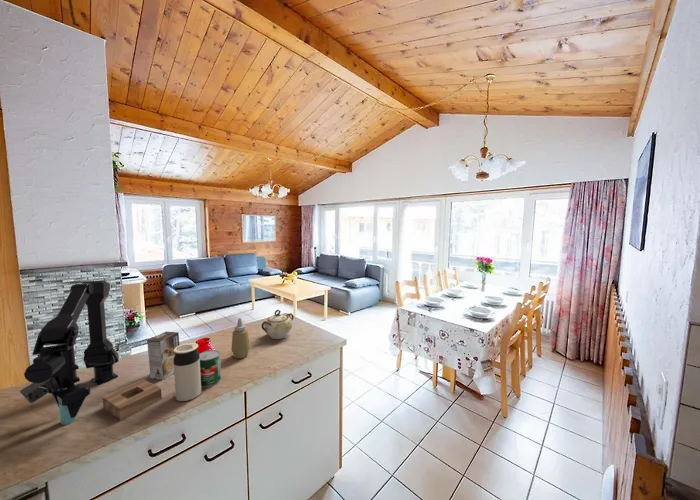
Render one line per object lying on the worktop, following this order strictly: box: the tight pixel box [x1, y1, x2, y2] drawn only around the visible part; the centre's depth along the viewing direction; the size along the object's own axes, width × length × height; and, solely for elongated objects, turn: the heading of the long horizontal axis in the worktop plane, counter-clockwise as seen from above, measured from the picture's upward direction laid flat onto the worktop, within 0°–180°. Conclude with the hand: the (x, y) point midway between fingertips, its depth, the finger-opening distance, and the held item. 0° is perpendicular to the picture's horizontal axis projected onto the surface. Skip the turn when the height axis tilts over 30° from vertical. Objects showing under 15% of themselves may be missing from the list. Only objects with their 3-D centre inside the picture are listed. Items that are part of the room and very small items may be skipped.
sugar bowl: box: [261, 309, 295, 340], centre depth 149 cm, size 20×15×15 cm
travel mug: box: [173, 342, 202, 402], centre depth 98 cm, size 8×8×18 cm
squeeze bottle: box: [230, 317, 251, 359], centre depth 127 cm, size 8×8×18 cm
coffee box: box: [146, 331, 180, 381], centre depth 112 cm, size 9×6×16 cm
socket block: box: [101, 378, 163, 421], centre depth 94 cm, size 12×12×4 cm
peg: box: [58, 404, 76, 426], centre depth 85 cm, size 3×3×9 cm
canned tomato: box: [199, 349, 222, 388], centre depth 107 cm, size 8×8×11 cm
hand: (67, 412), depth 86 cm, fingers open, 9 cm apart
